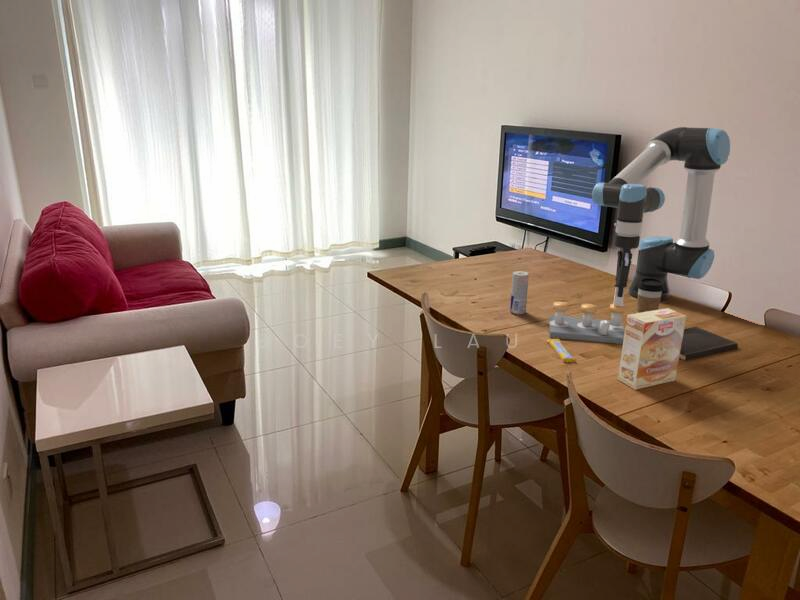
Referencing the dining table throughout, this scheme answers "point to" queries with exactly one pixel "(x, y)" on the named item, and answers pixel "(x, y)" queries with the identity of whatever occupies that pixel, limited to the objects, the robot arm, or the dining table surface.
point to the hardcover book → (703, 344)
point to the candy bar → (561, 350)
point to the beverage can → (519, 292)
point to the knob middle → (588, 314)
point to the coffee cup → (649, 294)
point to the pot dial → (604, 327)
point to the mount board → (585, 330)
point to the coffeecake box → (651, 348)
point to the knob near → (617, 314)
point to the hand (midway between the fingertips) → (617, 305)
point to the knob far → (560, 311)
